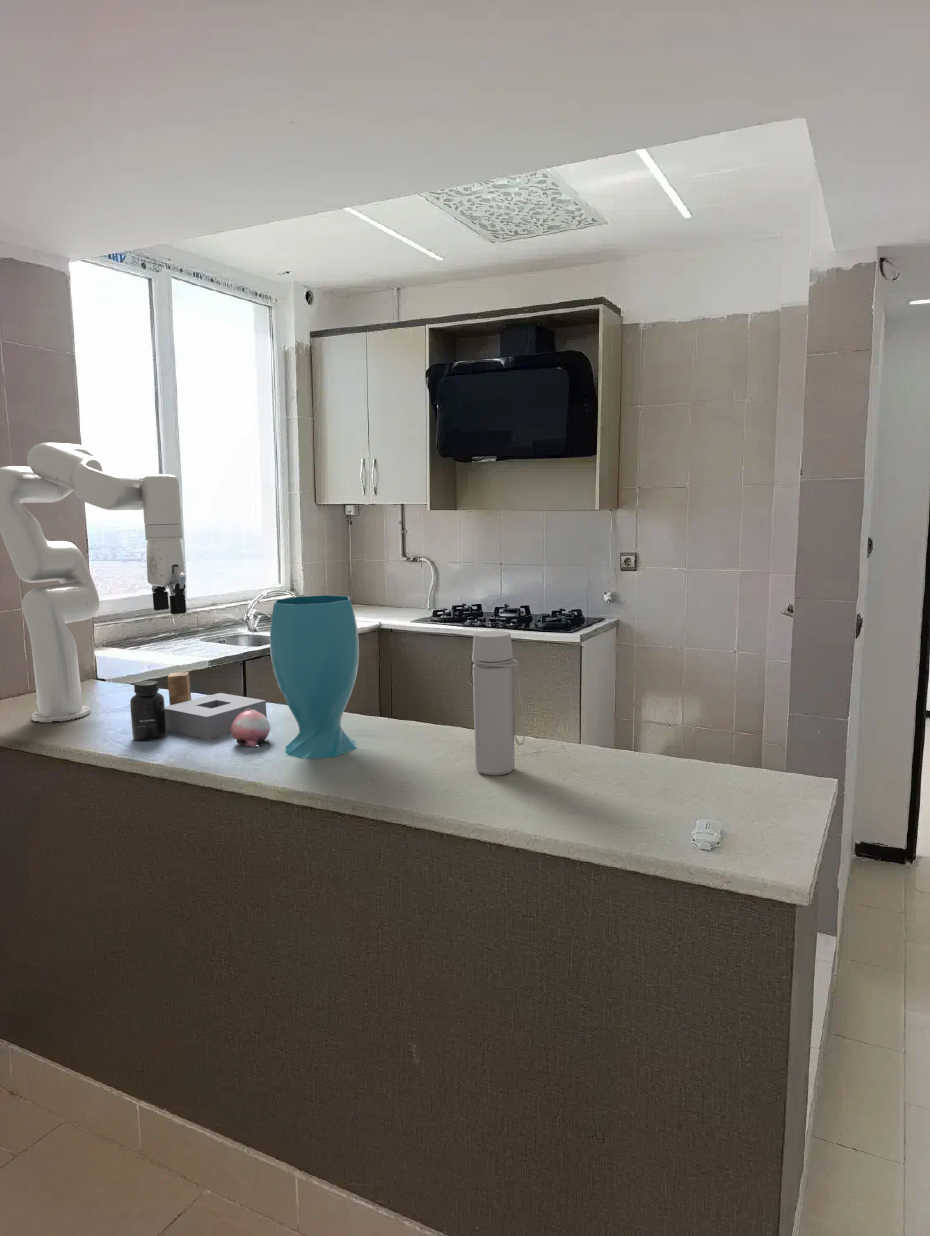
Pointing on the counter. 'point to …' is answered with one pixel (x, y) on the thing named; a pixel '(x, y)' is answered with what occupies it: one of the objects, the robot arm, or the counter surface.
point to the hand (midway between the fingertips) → (169, 611)
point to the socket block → (209, 714)
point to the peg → (179, 687)
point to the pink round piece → (250, 728)
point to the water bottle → (494, 702)
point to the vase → (316, 669)
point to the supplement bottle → (147, 712)
